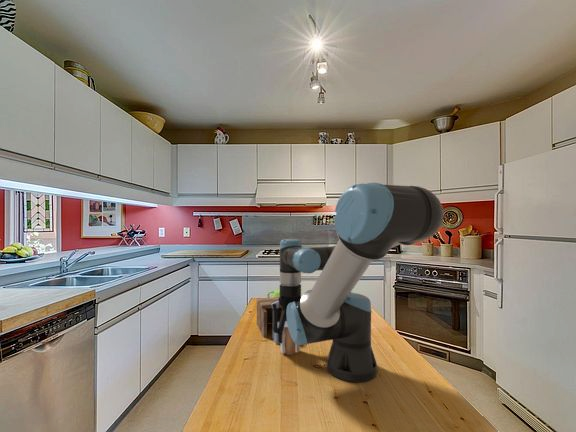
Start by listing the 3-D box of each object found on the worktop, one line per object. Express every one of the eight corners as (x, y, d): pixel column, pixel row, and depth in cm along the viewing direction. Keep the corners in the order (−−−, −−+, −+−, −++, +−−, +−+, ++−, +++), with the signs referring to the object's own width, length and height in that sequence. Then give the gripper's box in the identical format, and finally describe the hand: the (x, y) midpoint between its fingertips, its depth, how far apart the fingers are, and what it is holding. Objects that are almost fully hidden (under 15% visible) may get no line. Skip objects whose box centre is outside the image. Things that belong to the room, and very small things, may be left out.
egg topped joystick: (300, 353, 99) (300, 327, 99) (283, 356, 97) (283, 329, 98) (287, 336, 114) (287, 313, 114) (272, 338, 113) (272, 314, 113)
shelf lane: (294, 334, 116) (294, 306, 117) (263, 337, 113) (263, 308, 113) (283, 321, 131) (284, 296, 131) (256, 324, 127) (257, 298, 128)
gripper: (310, 280, 107) (310, 343, 106) (263, 282, 102) (262, 349, 101) (318, 284, 100) (317, 352, 99) (267, 287, 95) (267, 359, 94)
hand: (290, 350), depth 100 cm, fingers open, 5 cm apart
